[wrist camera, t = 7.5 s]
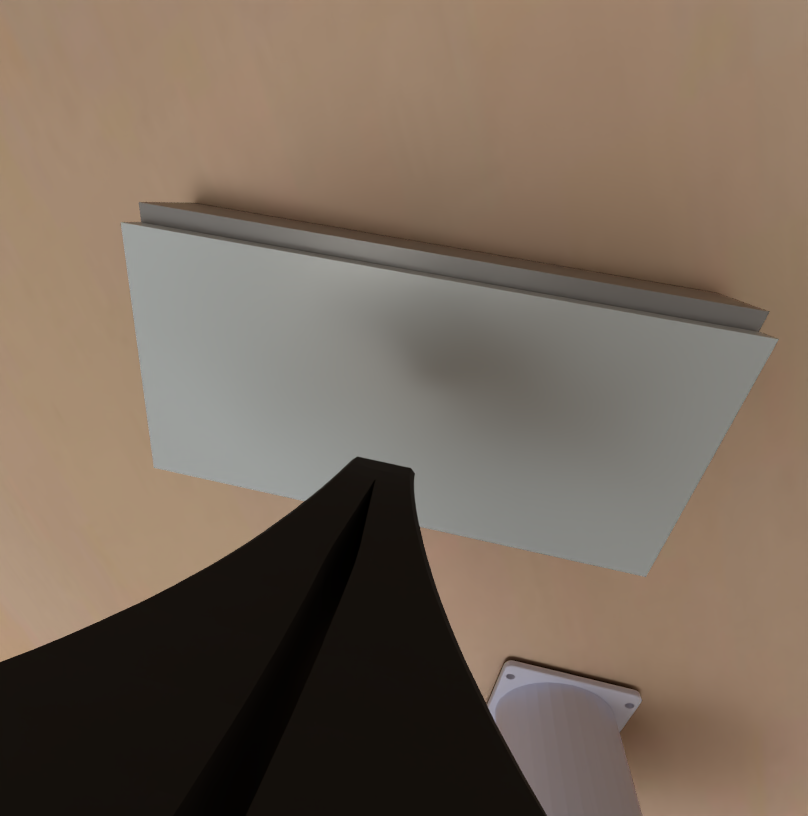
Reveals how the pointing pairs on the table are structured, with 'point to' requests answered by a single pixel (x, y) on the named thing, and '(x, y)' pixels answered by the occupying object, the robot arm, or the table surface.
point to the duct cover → (433, 391)
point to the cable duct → (458, 263)
